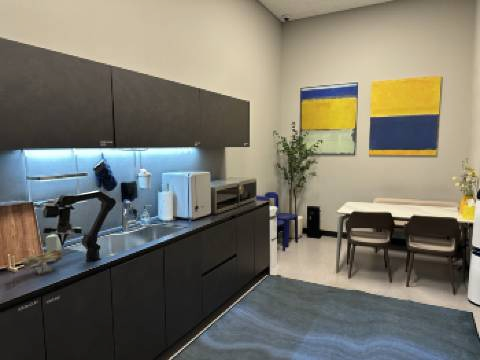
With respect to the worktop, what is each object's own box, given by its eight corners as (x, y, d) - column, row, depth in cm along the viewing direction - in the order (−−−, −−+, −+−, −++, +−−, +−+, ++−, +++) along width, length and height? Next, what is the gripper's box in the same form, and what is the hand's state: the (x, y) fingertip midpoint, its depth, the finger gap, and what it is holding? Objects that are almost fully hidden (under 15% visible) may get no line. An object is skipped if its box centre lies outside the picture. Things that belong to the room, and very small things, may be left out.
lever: (61, 256, 191) (58, 246, 190) (63, 259, 186) (60, 249, 185) (24, 268, 181) (21, 258, 180) (25, 271, 175) (22, 261, 174)
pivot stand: (50, 266, 190) (49, 256, 189) (53, 271, 181) (52, 260, 181) (35, 269, 186) (34, 258, 185) (38, 274, 177) (37, 263, 177)
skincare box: (58, 261, 199) (56, 236, 198) (46, 262, 198) (44, 237, 196) (62, 256, 207) (60, 233, 206) (51, 257, 206) (49, 234, 204)
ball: (27, 261, 181) (35, 257, 183) (29, 265, 178) (37, 262, 180) (25, 255, 179) (33, 252, 181) (27, 260, 176) (35, 256, 178)
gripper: (42, 218, 175) (40, 248, 175) (82, 219, 182) (80, 248, 182) (46, 216, 186) (43, 244, 185) (83, 217, 193) (81, 244, 193)
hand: (62, 245), depth 186 cm, fingers closed
